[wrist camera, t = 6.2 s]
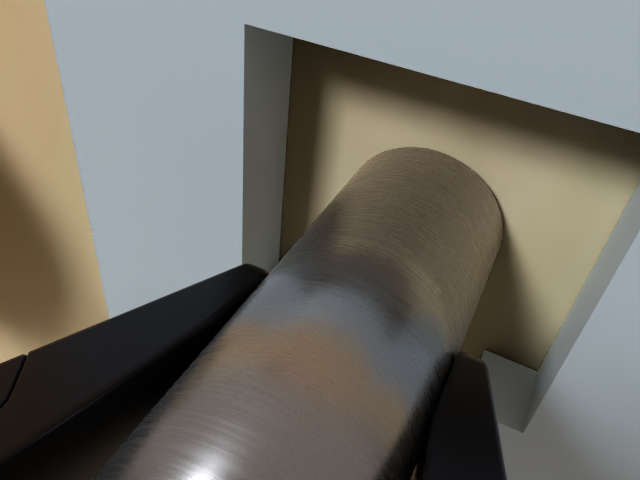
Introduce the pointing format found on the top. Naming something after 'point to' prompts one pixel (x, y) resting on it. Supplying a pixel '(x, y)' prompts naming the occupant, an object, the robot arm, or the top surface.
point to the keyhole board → (270, 151)
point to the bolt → (335, 339)
